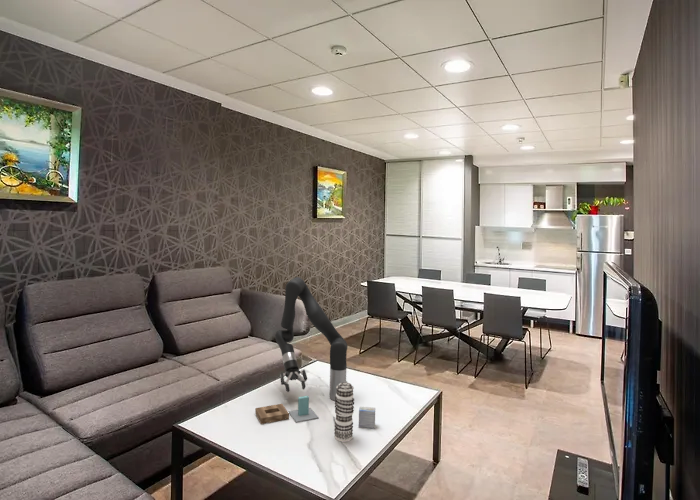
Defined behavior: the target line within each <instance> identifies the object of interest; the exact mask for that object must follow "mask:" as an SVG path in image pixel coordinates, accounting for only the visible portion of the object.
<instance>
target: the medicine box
mask: <svg viewBox="0 0 700 500" xmlns="http://www.w3.org/2000/svg"><path fill="white" fill-rule="evenodd" d="M375 425H376V407H369V406H359V409H358V428H365V429H375V428H376V427H375Z"/></svg>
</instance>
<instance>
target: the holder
mask: <svg viewBox="0 0 700 500" xmlns="http://www.w3.org/2000/svg"><path fill="white" fill-rule="evenodd" d="M254 412H255V416H256V417H257V419H258V421H259V423H260V425H265V424H271V423H276V422H282V421H287V420H289V419H290V414H289V413H288V410H287V409H286V407H285V406H284V404H283V403H277V404H272V405H266V406H261V407H260V406H259V407H256V408H255V411H254Z"/></svg>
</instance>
